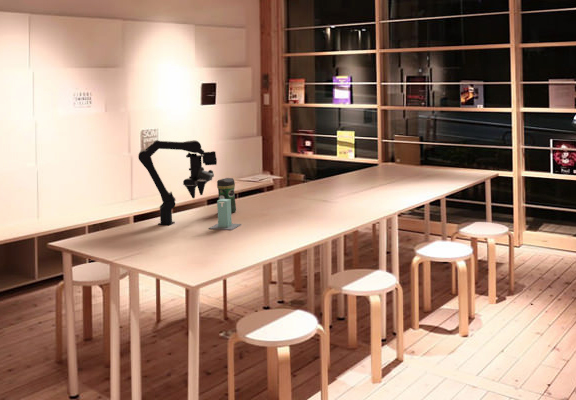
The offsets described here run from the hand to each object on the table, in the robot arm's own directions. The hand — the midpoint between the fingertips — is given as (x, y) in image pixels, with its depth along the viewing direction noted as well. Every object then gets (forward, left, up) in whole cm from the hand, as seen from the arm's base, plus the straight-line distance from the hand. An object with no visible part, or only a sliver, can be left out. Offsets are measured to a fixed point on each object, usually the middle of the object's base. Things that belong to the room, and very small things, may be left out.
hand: (197, 196), depth 354 cm
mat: (-8, -18, -13) cm, 24 cm away
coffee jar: (+25, -5, -13) cm, 29 cm away
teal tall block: (-8, -18, -13) cm, 23 cm away
